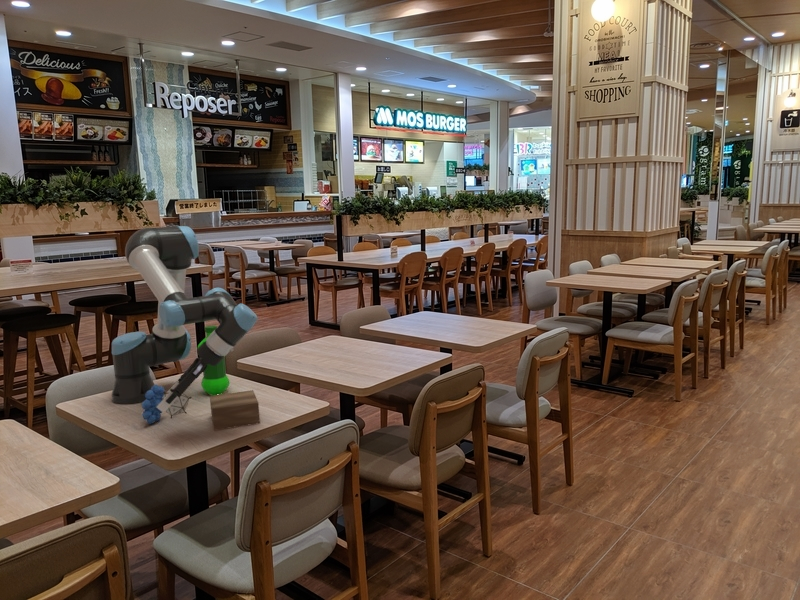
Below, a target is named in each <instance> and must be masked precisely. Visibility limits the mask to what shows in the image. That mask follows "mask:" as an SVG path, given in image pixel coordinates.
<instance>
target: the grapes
mask: <svg viewBox="0 0 800 600" xmlns="http://www.w3.org/2000/svg"><path fill="white" fill-rule="evenodd" d="M163 392H165V393H166V391H165V387H164V386H162V385H160V386H159V385H158V384H155V385H153V386H152V388H151V390H148V391H147V392H146V394H145V397H146V400H144V401H143V402H141V408H142V409H143V412H142V413H141V416H142V418H143V419H144V420H145V421H146V423H147V424H149V425H151V424H153V423H155V422H159V420H161V417H162V414H164V413H163V412H162V411H160V410H159V409H158V408H156V407H157V406H158V405H159V404H160V403H161V401H162V400H163V398H162V397H163V396H164V393H163Z"/></svg>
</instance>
